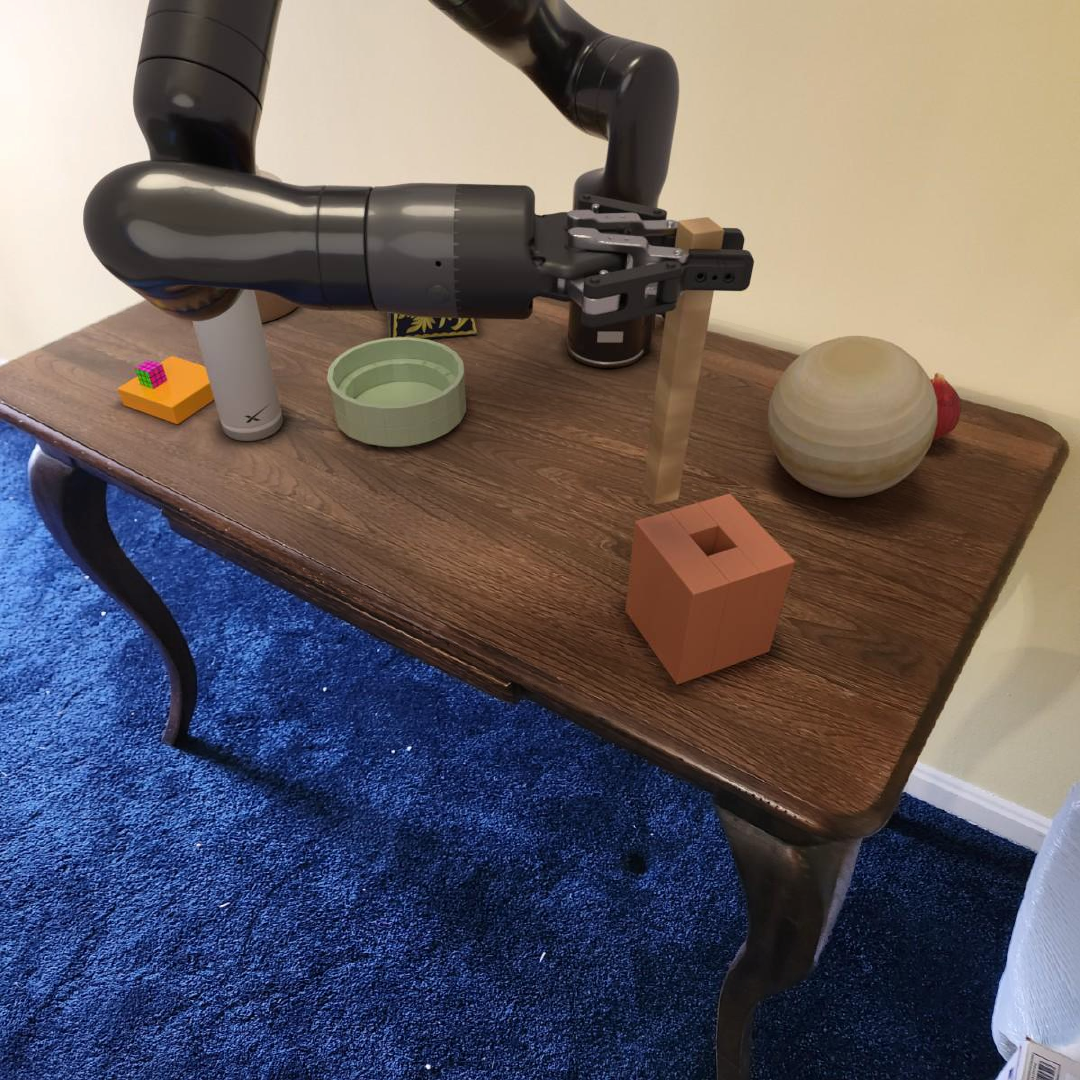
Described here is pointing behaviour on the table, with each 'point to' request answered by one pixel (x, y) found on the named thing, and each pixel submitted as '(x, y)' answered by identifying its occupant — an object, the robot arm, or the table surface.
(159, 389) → the orange flat block
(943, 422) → the onion
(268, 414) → the travel mug
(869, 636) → the table surface
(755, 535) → the stick holder
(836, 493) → the decorative ball
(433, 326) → the decorative box
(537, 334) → the table surface
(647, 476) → the long square wooden peg
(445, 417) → the bowl
